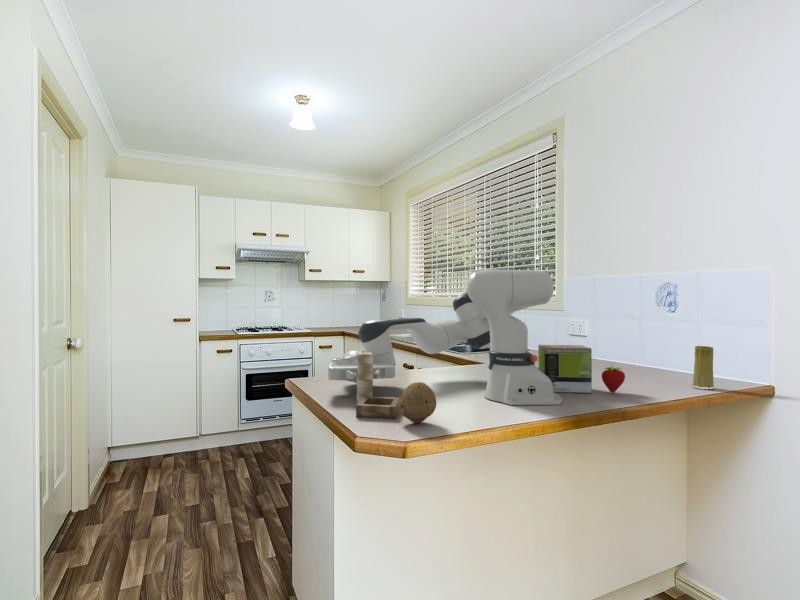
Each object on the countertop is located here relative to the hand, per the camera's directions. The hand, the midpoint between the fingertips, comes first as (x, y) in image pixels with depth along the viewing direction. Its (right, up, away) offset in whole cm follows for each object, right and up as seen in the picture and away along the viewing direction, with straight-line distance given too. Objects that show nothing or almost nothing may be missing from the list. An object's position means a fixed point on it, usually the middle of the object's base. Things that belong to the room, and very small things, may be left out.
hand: (365, 376), depth 129 cm
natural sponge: (+14, -8, -20) cm, 26 cm away
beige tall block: (0, -7, +1) cm, 8 cm away
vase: (+114, -9, +26) cm, 118 cm away
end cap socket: (+4, -8, -11) cm, 14 cm away
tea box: (+64, -8, +21) cm, 68 cm away
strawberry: (+79, -8, +17) cm, 81 cm away
